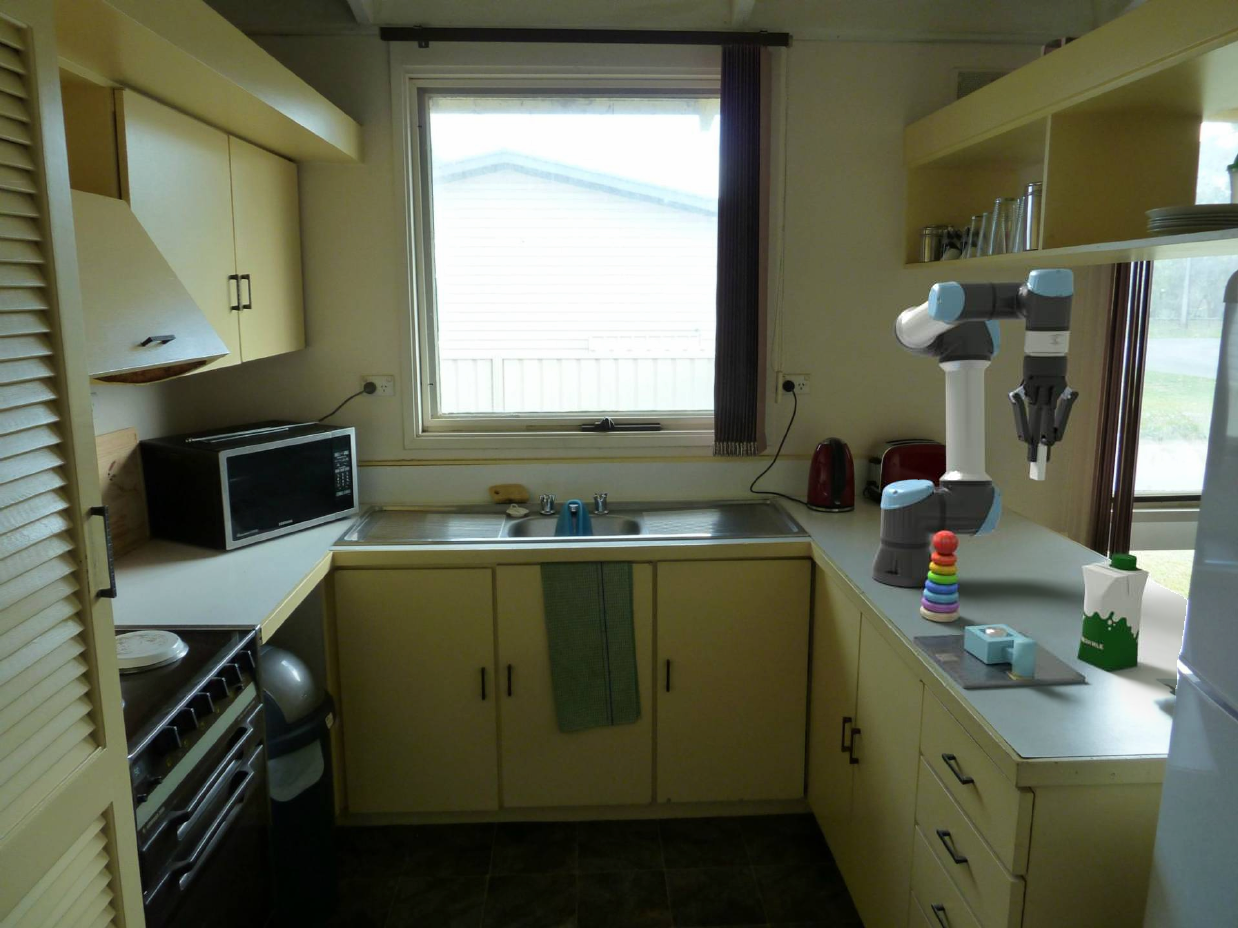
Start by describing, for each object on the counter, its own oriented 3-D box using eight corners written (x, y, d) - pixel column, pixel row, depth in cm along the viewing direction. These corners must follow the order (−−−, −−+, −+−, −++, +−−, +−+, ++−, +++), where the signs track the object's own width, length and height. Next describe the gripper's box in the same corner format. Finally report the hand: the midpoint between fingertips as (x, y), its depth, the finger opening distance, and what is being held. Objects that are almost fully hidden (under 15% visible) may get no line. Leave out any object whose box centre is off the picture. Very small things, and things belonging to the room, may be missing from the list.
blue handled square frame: (1008, 679, 159) (1010, 646, 158) (963, 647, 173) (965, 617, 172) (1049, 675, 160) (1052, 643, 159) (1001, 644, 174) (1003, 614, 173)
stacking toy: (921, 621, 191) (925, 534, 187) (918, 609, 198) (922, 525, 195) (961, 624, 189) (966, 536, 186) (956, 611, 197) (961, 527, 193)
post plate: (913, 641, 180) (914, 612, 179) (1020, 636, 182) (1022, 607, 181) (963, 688, 158) (965, 655, 157) (1085, 682, 160) (1087, 649, 159)
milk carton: (1145, 667, 166) (1155, 561, 163) (1108, 674, 163) (1117, 566, 160) (1105, 650, 174) (1113, 548, 171) (1068, 657, 171) (1076, 554, 168)
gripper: (1022, 356, 166) (1014, 483, 170) (1091, 354, 167) (1081, 481, 171) (1001, 353, 173) (994, 476, 177) (1068, 352, 174) (1059, 474, 178)
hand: (1037, 478), depth 174 cm, fingers closed
